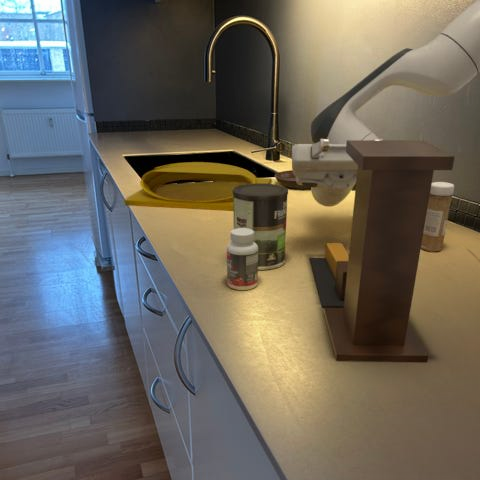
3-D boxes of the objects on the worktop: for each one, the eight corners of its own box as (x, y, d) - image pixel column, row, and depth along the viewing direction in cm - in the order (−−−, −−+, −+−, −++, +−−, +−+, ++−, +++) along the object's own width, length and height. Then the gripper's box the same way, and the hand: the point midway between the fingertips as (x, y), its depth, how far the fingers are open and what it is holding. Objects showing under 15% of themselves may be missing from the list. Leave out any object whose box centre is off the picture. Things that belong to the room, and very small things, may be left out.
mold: (167, 178, 169) (165, 149, 165) (271, 182, 163) (272, 152, 159) (125, 205, 139) (121, 170, 135) (250, 211, 132) (251, 175, 128)
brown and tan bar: (345, 257, 101) (347, 233, 99) (370, 300, 83) (374, 271, 81) (319, 257, 101) (321, 233, 99) (340, 300, 83) (343, 272, 81)
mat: (370, 259, 101) (370, 258, 101) (397, 308, 81) (398, 306, 81) (309, 259, 101) (309, 257, 101) (322, 307, 82) (322, 305, 82)
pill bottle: (220, 285, 90) (219, 231, 85) (241, 276, 94) (241, 224, 89) (243, 293, 87) (244, 238, 82) (263, 284, 90) (265, 230, 86)
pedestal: (400, 314, 80) (428, 139, 68) (427, 362, 67) (467, 158, 55) (323, 313, 80) (337, 139, 68) (336, 360, 68) (356, 157, 56)
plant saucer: (262, 184, 161) (262, 174, 160) (299, 176, 172) (300, 166, 170) (305, 193, 149) (306, 183, 148) (342, 184, 160) (343, 174, 159)
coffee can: (291, 255, 103) (294, 185, 97) (276, 273, 95) (279, 197, 88) (243, 249, 107) (243, 181, 100) (225, 266, 98) (224, 192, 92)
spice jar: (447, 250, 106) (459, 184, 100) (430, 253, 104) (442, 187, 98) (431, 243, 110) (442, 180, 103) (414, 246, 108) (425, 182, 102)
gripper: (390, 185, 103) (411, 160, 90) (288, 184, 104) (294, 160, 90) (390, 154, 104) (411, 125, 90) (289, 154, 104) (294, 125, 90)
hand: (351, 142), depth 90 cm, fingers open, 8 cm apart
